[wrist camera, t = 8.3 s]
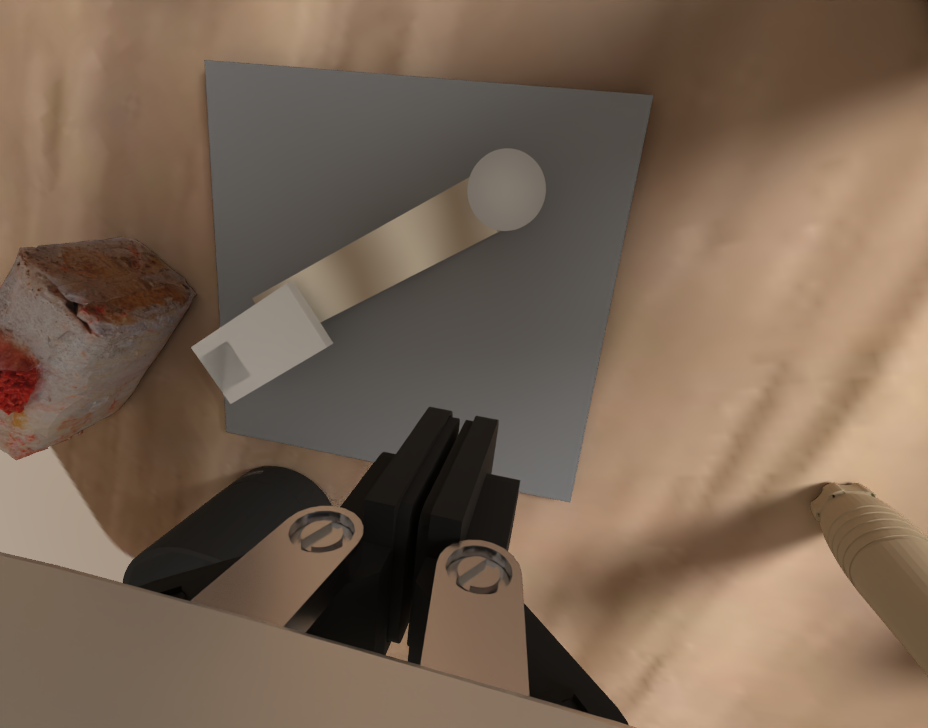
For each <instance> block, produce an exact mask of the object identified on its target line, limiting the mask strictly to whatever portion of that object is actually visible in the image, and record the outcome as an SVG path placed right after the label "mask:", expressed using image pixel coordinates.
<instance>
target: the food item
mask: <svg viewBox="0 0 928 728" xmlns="http://www.w3.org/2000/svg"><path fill="white" fill-rule="evenodd" d="M195 295H196V293H195V292H194V291H193V289H192V288H191V287H190V286H188V285H187V284H186V283H185V279H184V278H183V277H182V276H180V275H179V274H178V273H177V272H175V271H174V270H172V269H171V268H169V267H168V266H167V265H166V264H165V263H164V262H163V261H162V260H160V259H159V258H158V257H157V256H156V255H155V254H154V253H152V252H151V251H150V250H149V249H148V248H147V247H146V246H144V245H143V244H142V243H140V242H138V241H137V240H135V239H130V238H125V237H117V238H111V239H106V240H93V241H82V242H77V243H64V244H52V245H42V246H38V247H37V248H34V247H25V248H20V250H19V252H18V255H17V258H16V261H15V263H14V265H13V267H12V269H11V271H10V273H9V274H8V276H7V277H6V279H5V280H4V282H3V284H2V285H1V287H0V449H1V450H2V451H4V452H6V453H8V454H9V455H10V456H11V457H12V458H14V459H15V460H18V459H21V458H23V457H26V456H29V455H31V454H33V453H36V452H39V451H42V450H45V449H48V447H49V446H51V445H54V444H58V443H60V442H63V441H65V440H68V439H71V437H72V435H74V434H76V433H78V435H80V434H82V433H83V429H85V428H87V427H89V426H91V425H93V424H95V423H96V422H98V421H99V420H102V419H104V418H106V417H108V416H110V415H111V414H113V413H114V412H116V411H117V410H119V409H120V408H121V407H122V405H123V404H124V403H125V402H126V401H127V399H128V398H129V397H130V396H131V395H132V393H133V392H134V390H135V388H136V387H137V385H138V384H139V382H140V380H141V379H142V377H143V375H144V373H145V372H146V371H147V369H148V368H149V367H150V365H151V364H152V362H153V361H154V360H155V359H156V357H157V356H158V354H159V353H160V351H161V350H162V349H163V347H164V346H165V344H166V342H167V341H168V339H169V338H170V336H171V334H172V332H173V331H174V329H175V328H176V326H177V325H178V323H179V322H180V320H181V319H182V317H183V316H184V314H185V313H186V311H187V310H188V308H189V306H190V304H191V302H192V300H193V297H194V296H195Z"/></svg>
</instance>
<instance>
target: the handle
mask: <svg viewBox="0 0 928 728" xmlns="http://www.w3.org/2000/svg"><path fill="white" fill-rule="evenodd" d="M810 509H811V512H812V514H813V516H814V518H815V520H818V521H819V523H820V525H821V530H822V533H823V535H824V538H825V540H826V542H827V544H828V546H829V548H830V550H831V551H832V553H833V555H834V557H835V559H836V560H837V562H838V564H839V565H840V567H841V568H842V570H843V571H844V573H845V574H846V576H847V577H848V578H849V580H850V581H851V583H852V584H853V585H854V587H855V588H856V589H857V591H858V592H859V593H860V594H861V596H862V597H863V598H864V599H865V600H866V602H867V603H868V604H869V605H870V606H871V608H872V609H873V610H874V611H875V612H876V614H877V615H878V616H879V617H880V618H881V620H882V621H883V622H884V623H885V624H886V626H887V627H888V628H889V629H890V630H891V632H892V633H893V634H894V635H895V636H896V638H897V639H898V640H899V641H900V642H901V644H902V645H903V646H904V647H905V648H906V650H907V651H908V652H909V653H910V655H911V656H912V657H913V658H914V660H915V661H916V662H917V663H918V665H919V666H920V667H921V668H922V670H923V671H924V672H925V673H926V675H927V676H928V537H927V536H926V535H925V534H924V533H923V532H922V531H921V530H919V529H918V528H917V527H916V526H915V525H914V524H912V523H911V522H910V521H909V520H908V519H906V518H905V517H904V516H903V515H901V514H900V513H899V512H897V511H896V510H895V509H893V508H892V507H890V506H889V505H887V504H886V503H884V502H883V501H881V500H879V499H878V498H876V494H874V493H873V492H872V491H871V490H869V489H868V488H866V487H864V486H863V485H861V484H859V483H854V484H850V485H839V484H836V483H830V484H827V485H825V486H824V487H823V490H822V492H821V494H820V495H819V496H818V497H817V498H816V499H815V500H814V501H812V502H811V504H810Z"/></svg>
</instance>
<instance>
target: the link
mask: <svg viewBox="0 0 928 728" xmlns="http://www.w3.org/2000/svg"><path fill="white" fill-rule="evenodd" d="M468 181H469V178H467V179H465V180H463V181H462V182H460V183H458V184H456V185H454V186H453V187H451V188H449V189H447V190H446V191H444V192H442V193H440V194H438V195H437V196H435V197H433V198H431V199H429V200H428V201H426V202H424V203H422V204H420V205H419V206H417V207H415V208H413V209H411V210H410V211H408V212H406V213H404V214H403V215H401V216H399V217H397V218H395V219H394V220H392V221H390V222H388V223H386V224H385V225H383V226H381V227H379V228H377V229H376V230H374V231H372V232H370V233H368V234H367V235H365V236H363V237H361V238H359V239H358V240H356V241H354V242H352V243H351V244H349V245H347V246H345V247H343V248H342V249H340V250H338V251H336V252H334V253H333V254H331V255H329V256H327V257H325V258H324V259H322V260H320V261H318V262H316V263H315V264H313V265H311V266H309V267H308V268H306V269H304V270H302V271H300V272H299V273H297V274H295V275H293V276H291V277H290V278H288V279H286V280H284V281H282V282H281V283H279V284H277V285H275V286H273V287H272V288H270V289H268V290H266V291H264V292H263V293H261V294H259V295H257V296H256V297H254V298H252V299H253V301H254V302H255V304H256V303H258V302H259V301H261V300H262V299H264V298H265V297H267V296H268V295H270V294H271V293H273V292H274V291H276V290H277V289H279V288H280V287H282V286H283V285H285V284H287V283H290V282H293V281H294V282H295V284H296V286H297V287H298V289H299V290H300V292H301V293H302V295H303V297H304V298H305V300H306V301H307V303H308V304H309V306H310V307H311V309H312V311H313V312H314V314H315V315H316V317H317V318H318V320H319V321H320V323H321V322H322V321H324V320H326V319H328V318H330V317H332V316H334V315H336V314H338V313H340V312H342V311H344V310H346V309H348V308H350V307H352V306H354V305H356V304H358V303H360V302H362V301H364V300H366V299H368V298H370V297H372V296H374V295H376V294H377V293H379V292H381V291H383V290H385V289H387V288H389V287H391V286H393V285H395V284H397V283H399V282H401V281H403V280H405V279H407V278H409V277H411V276H413V275H415V274H417V273H419V272H421V271H423V270H425V269H427V268H429V267H431V266H433V265H434V264H436V263H438V262H440V261H442V260H444V259H446V258H448V257H450V256H452V255H454V254H456V253H458V252H460V251H462V250H464V249H466V248H468V247H470V246H472V245H474V244H476V243H478V242H480V241H482V240H484V239H486V238H488V237H490V236H491V235H493V234H495V233H497V232H499V230H495V229H492V228H490V227H488V226H486V225H484V224H483V223H482V222H481V221H480V220H479V219H478V218H477V217H476V216H475V214H474V213H473V211H472V209H471V207H470V204H469V201H468V194H467V188H468Z"/></svg>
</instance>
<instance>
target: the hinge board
mask: <svg viewBox="0 0 928 728" xmlns="http://www.w3.org/2000/svg"><path fill="white" fill-rule="evenodd" d="M205 77H206V94H207V111H208V128H209V145H210V162H211V179H212V196H213V213H214V230H215V247H216V264H217V281H218V298H219V315H220V328H219V329H217V330H216V331H214V332H213V333H211V334H210V335H209V336H207V337H206V338H204V339H203V340H201V341H200V342H198V343H197V344H195V345H194V346H192V347H191V348H192V350H193V351H194V353H195V354H196V355H197V357H198V358H199V360H200V361H201V363H202V364H203V365H204V367H205V368H206V370H207V371H208V373H209V374H210V376H211V377H212V378H213V380H214V381H215V383H216V384H217V386H218V387H219V388H220V390H221V391H222V393H223V394H224V401H225V418H226V432H229V433H234V434H239V435H244V436H249V437H254V438H259V439H263V440H268V441H273V442H278V443H283V444H288V445H293V446H297V447H302V448H307V449H312V450H317V451H322V452H327V453H332V454H336V455H341V456H346V457H351V458H356V459H361V460H366V461H370V462H375V461H376V459H377V458H378V457H379V455H380V454H381V453H382V452H389V453H393V454H396V453H397V452H398V450H399V449H400V447H401V446H402V445H403V443H404V442H405V440H406V439H407V437H408V436H409V435H410V433H411V432H412V430H413V429H414V427H415V426H416V424H417V423H418V422H419V420H420V419H421V417H422V416H423V414H424V413H425V412H426V410H427V409H428V407H434V408H440V409H445V410H450V411H452V413H453V417H454V418H459V419H460V426H459V433H460V431H461V428H462V426H463V424H464V422H465V421H466V420H470V421H473V420H474V418H475V416H481V417H486V418H491V419H497V420H499V426H498V433H497V440H496V447H495V453H494V460H493V467H492V474H493V475H498V476H503V477H507V478H512V479H517V480H520V487H519V492H521V493H526V494H531V495H536V496H541V497H546V498H550V499H555V500H560V501H565V502H570V501H571V496H572V491H573V486H574V481H575V476H576V471H577V467H578V462H579V457H580V452H581V447H582V442H583V437H584V432H585V427H586V423H587V418H588V413H589V408H590V403H591V398H592V393H593V388H594V383H595V379H596V374H597V369H598V364H599V359H600V354H601V349H602V344H603V339H604V335H605V330H606V325H607V320H608V315H609V310H610V305H611V300H612V295H613V291H614V286H615V281H616V276H617V271H618V266H619V261H620V256H621V251H622V247H623V242H624V237H625V232H626V227H627V222H628V217H629V212H630V207H631V203H632V198H633V193H634V188H635V183H636V178H637V173H638V168H639V163H640V159H641V154H642V149H643V144H644V139H645V134H646V129H647V124H648V120H649V115H650V110H651V105H652V100H653V95H646V94H633V93H620V92H608V91H595V90H582V89H569V88H556V87H544V86H531V85H518V84H505V83H492V82H479V81H467V80H454V79H441V78H428V77H415V76H403V75H390V74H377V73H364V72H351V71H339V70H326V69H313V68H300V67H287V66H274V65H262V64H249V63H236V62H223V61H210V60H205ZM467 178H469V181H468V188H467V194H468V201H469V204H470V207H471V209H472V211H473V213H474V214H475V216H476V217H477V218H478V219H479V220H480V221H481V222H482V223H483V224H484V225H486V226H488V227H490V228H492V229H495V230H499V232H497V233H495V234H493V235H491V236H490V237H488V238H486V239H484V240H482V241H480V242H478V243H476V244H474V245H472V246H470V247H468V248H466V249H464V250H462V251H460V252H458V253H456V254H454V255H452V256H450V257H448V258H446V259H444V260H442V261H440V262H438V263H436V264H434V265H433V266H431V267H429V268H427V269H425V270H423V271H421V272H419V273H417V274H415V275H413V276H411V277H409V278H407V279H405V280H403V281H401V282H399V283H397V284H395V285H393V286H391V287H389V288H387V289H385V290H383V291H381V292H379V293H377V294H376V295H374V296H372V297H370V298H368V299H366V300H364V301H362V302H360V303H358V304H356V305H354V306H352V307H350V308H348V309H346V310H344V311H342V312H340V313H338V314H336V315H334V316H332V317H330V318H328V319H326V320H324V321H322V322H321V323H320V321H319V320H318V318H317V317H316V315H315V314H314V312H313V311H312V309H311V307H310V306H309V304H308V303H307V301H306V300H305V298H304V297H303V295H302V293H301V292H300V290H299V289H298V287H297V286H296V284H295V282H294V281H293V282H290V283H287V284H285V285H283V286H282V287H280V288H279V289H277V290H276V291H274V292H273V293H271V294H270V295H268V296H267V297H265V298H264V299H262V300H261V301H259V302H258V303H256V304H255V302H254V301H253V299H252V298H254V297H256V296H257V295H259V294H261V293H263V292H264V291H266V290H268V289H270V288H272V287H273V286H275V285H277V284H279V283H281V282H282V281H284V280H286V279H288V278H290V277H291V276H293V275H295V274H297V273H299V272H300V271H302V270H304V269H306V268H308V267H309V266H311V265H313V264H315V263H316V262H318V261H320V260H322V259H324V258H325V257H327V256H329V255H331V254H333V253H334V252H336V251H338V250H340V249H342V248H343V247H345V246H347V245H349V244H351V243H352V242H354V241H356V240H358V239H359V238H361V237H363V236H365V235H367V234H368V233H370V232H372V231H374V230H376V229H377V228H379V227H381V226H383V225H385V224H386V223H388V222H390V221H392V220H394V219H395V218H397V217H399V216H401V215H403V214H404V213H406V212H408V211H410V210H411V209H413V208H415V207H417V206H419V205H420V204H422V203H424V202H426V201H428V200H429V199H431V198H433V197H435V196H437V195H438V194H440V193H442V192H444V191H446V190H447V189H449V188H451V187H453V186H454V185H456V184H458V183H460V182H462V181H463V180H465V179H467ZM458 435H459V434H458Z"/></svg>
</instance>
